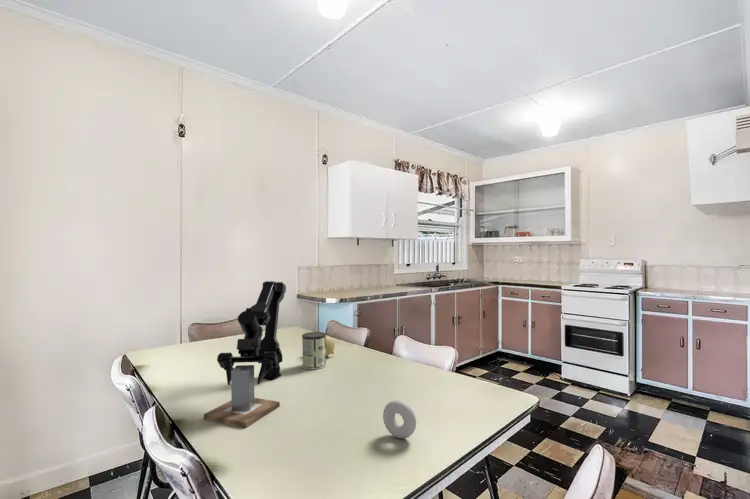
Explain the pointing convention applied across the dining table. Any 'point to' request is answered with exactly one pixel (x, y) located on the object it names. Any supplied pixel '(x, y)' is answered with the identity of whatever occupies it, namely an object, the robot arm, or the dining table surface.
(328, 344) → the toy pig
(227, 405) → the walnut board
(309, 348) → the coffee can
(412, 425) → the donut
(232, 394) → the gray block
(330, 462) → the dining table surface
